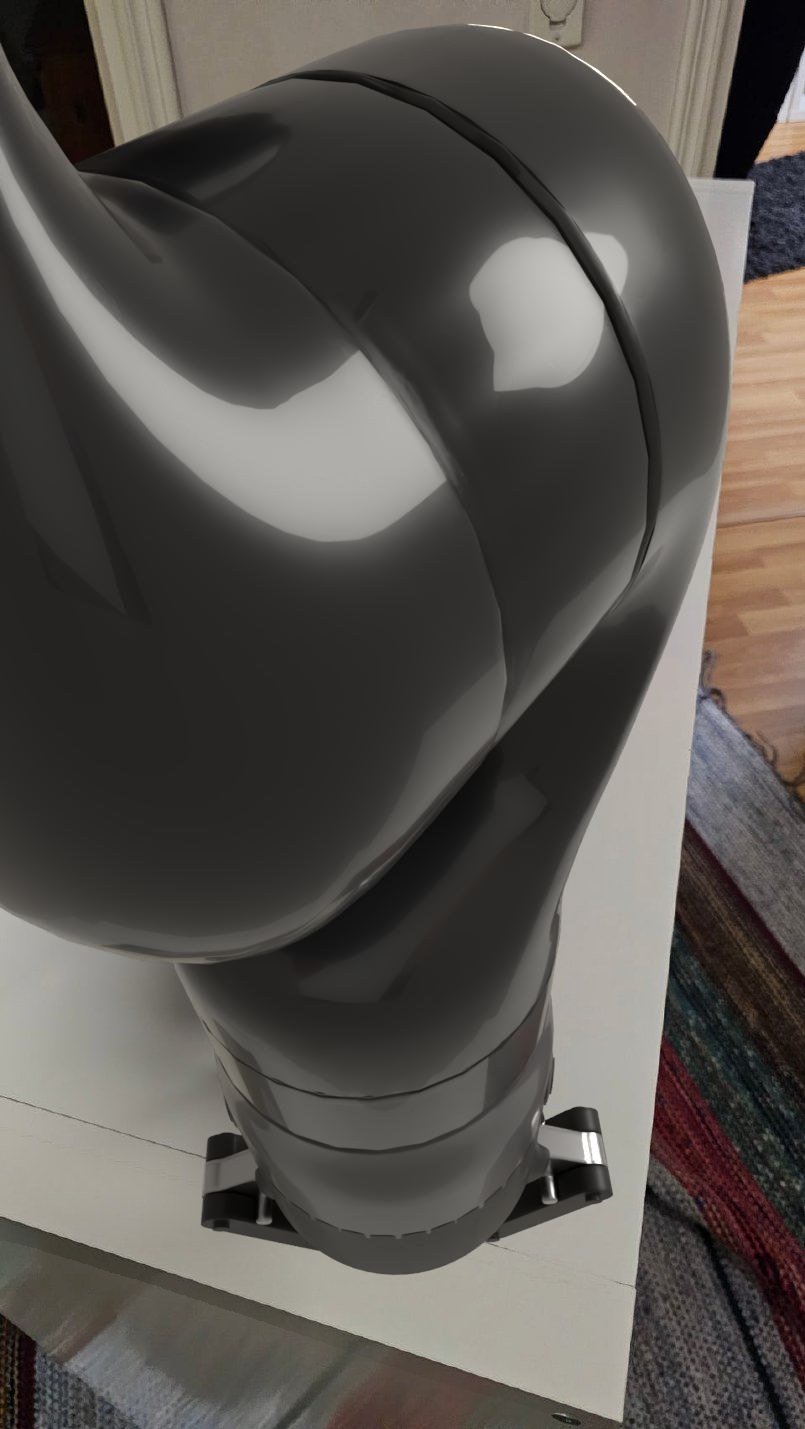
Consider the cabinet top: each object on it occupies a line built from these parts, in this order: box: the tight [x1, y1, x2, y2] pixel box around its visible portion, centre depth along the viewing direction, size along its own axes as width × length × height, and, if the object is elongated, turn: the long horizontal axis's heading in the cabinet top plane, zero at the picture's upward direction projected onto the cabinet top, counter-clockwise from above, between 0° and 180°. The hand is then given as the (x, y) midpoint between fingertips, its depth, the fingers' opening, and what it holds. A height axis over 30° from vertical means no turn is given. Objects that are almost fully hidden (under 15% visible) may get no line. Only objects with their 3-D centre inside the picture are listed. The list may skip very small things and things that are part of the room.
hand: (414, 1238), depth 36 cm, fingers closed
